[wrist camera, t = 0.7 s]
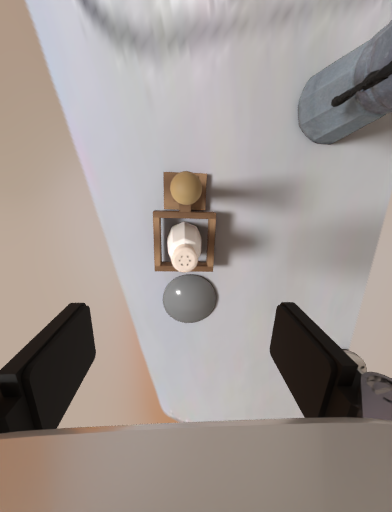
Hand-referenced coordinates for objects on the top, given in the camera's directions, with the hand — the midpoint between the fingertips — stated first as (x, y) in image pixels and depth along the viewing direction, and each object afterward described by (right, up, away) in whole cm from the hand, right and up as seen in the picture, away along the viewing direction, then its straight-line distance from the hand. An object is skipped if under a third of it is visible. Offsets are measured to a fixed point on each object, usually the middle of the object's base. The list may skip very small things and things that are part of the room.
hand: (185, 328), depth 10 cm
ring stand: (-1, +9, +21) cm, 22 cm away
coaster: (-1, -4, +24) cm, 25 cm away
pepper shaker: (-1, +6, +21) cm, 22 cm away
